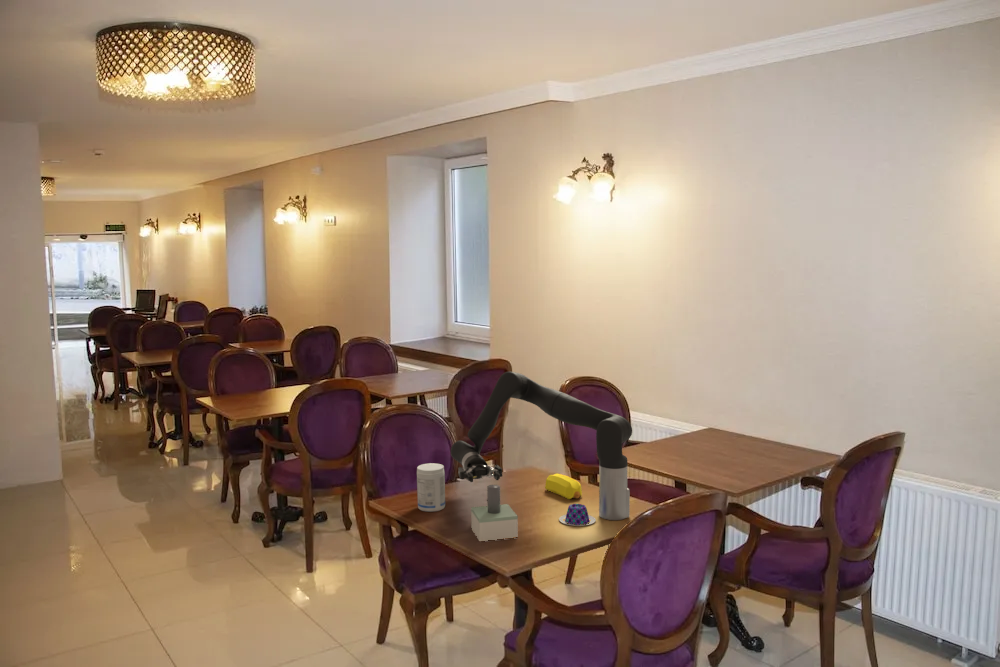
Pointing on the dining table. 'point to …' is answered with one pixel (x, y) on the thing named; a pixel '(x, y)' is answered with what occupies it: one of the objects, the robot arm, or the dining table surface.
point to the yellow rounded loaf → (563, 486)
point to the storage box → (494, 529)
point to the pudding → (577, 515)
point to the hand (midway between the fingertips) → (485, 478)
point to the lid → (493, 508)
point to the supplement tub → (431, 487)
